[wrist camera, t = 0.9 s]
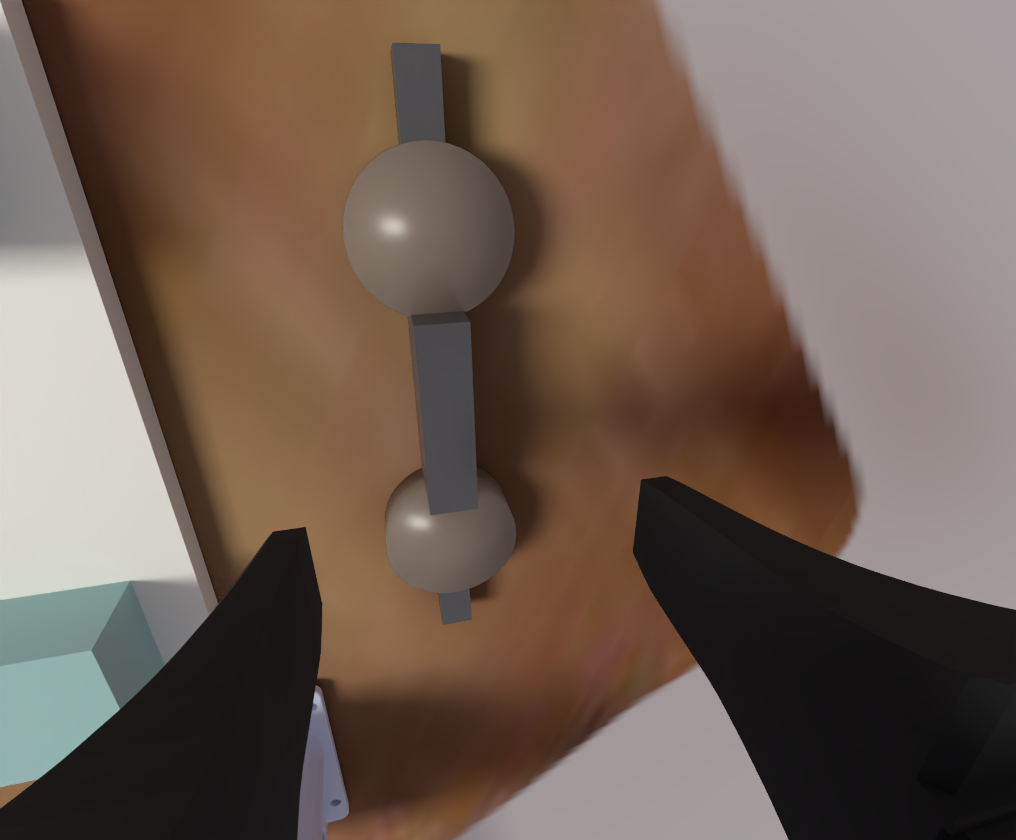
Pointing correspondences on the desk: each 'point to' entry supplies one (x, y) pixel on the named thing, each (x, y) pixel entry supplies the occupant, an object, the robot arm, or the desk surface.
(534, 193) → the desk surface
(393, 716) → the desk surface
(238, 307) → the desk surface
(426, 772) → the desk surface
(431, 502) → the rod with two spheres
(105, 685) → the stand
